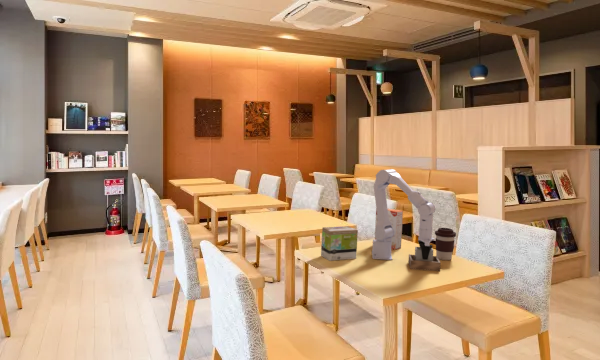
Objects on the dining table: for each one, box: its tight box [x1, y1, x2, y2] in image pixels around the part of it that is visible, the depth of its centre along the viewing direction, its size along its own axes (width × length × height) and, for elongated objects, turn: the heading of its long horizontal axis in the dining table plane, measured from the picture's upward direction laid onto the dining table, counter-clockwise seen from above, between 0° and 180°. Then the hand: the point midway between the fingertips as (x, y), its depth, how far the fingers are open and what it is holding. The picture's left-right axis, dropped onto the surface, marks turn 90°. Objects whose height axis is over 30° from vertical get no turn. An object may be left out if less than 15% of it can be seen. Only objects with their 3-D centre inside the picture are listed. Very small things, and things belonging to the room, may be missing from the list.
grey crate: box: [414, 246, 434, 262], centre depth 193 cm, size 8×5×6 cm, turn 81°
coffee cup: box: [434, 227, 457, 261], centre depth 207 cm, size 10×10×15 cm
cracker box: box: [374, 207, 404, 250], centre depth 228 cm, size 14×6×21 cm, turn 43°
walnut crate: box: [408, 253, 441, 272], centre depth 193 cm, size 13×10×4 cm
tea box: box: [320, 225, 359, 262], centre depth 205 cm, size 15×10×15 cm
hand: (424, 257), depth 193 cm, fingers closed on grey crate, 5 cm apart
